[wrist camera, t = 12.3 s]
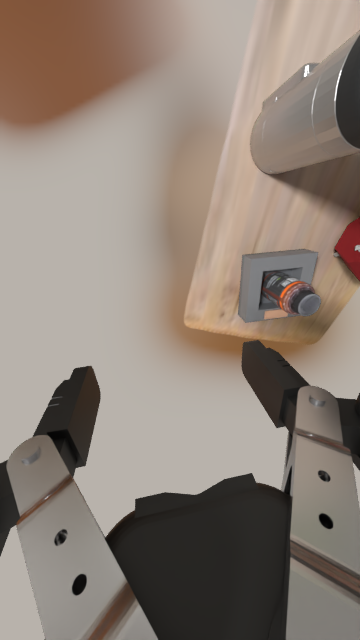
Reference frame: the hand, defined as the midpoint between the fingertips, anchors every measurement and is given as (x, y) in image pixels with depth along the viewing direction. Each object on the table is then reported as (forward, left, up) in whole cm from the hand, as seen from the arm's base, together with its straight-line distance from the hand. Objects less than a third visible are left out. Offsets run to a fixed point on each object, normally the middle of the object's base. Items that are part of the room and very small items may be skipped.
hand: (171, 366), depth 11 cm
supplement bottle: (+8, +24, -31) cm, 40 cm away
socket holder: (+8, +24, -32) cm, 41 cm away
